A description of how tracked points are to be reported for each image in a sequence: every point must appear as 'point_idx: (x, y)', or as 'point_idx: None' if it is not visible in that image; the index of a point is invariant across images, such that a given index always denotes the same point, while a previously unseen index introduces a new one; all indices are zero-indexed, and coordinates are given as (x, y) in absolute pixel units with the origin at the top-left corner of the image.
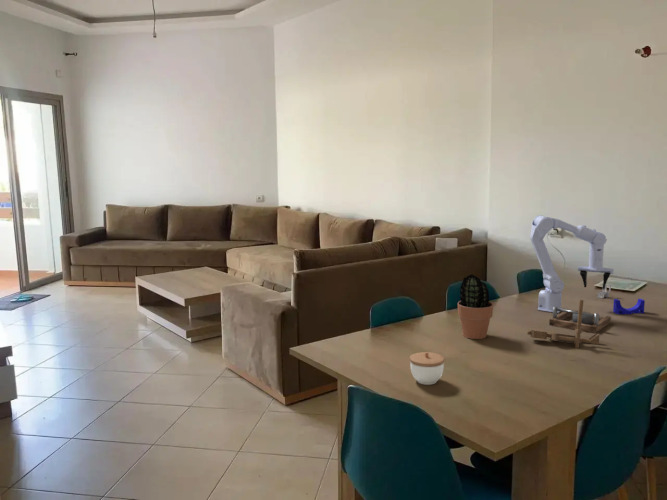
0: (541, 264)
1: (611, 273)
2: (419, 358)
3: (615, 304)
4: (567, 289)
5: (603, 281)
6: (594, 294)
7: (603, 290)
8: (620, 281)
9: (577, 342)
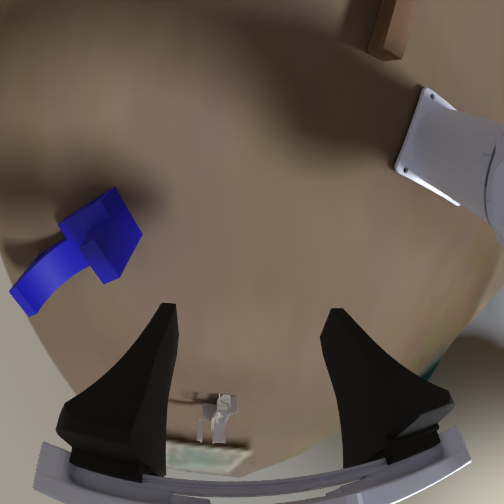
0: None
1: (53, 448)
2: None
3: (113, 236)
4: (319, 421)
5: (153, 360)
6: (248, 414)
7: (220, 423)
8: (203, 466)
9: None
